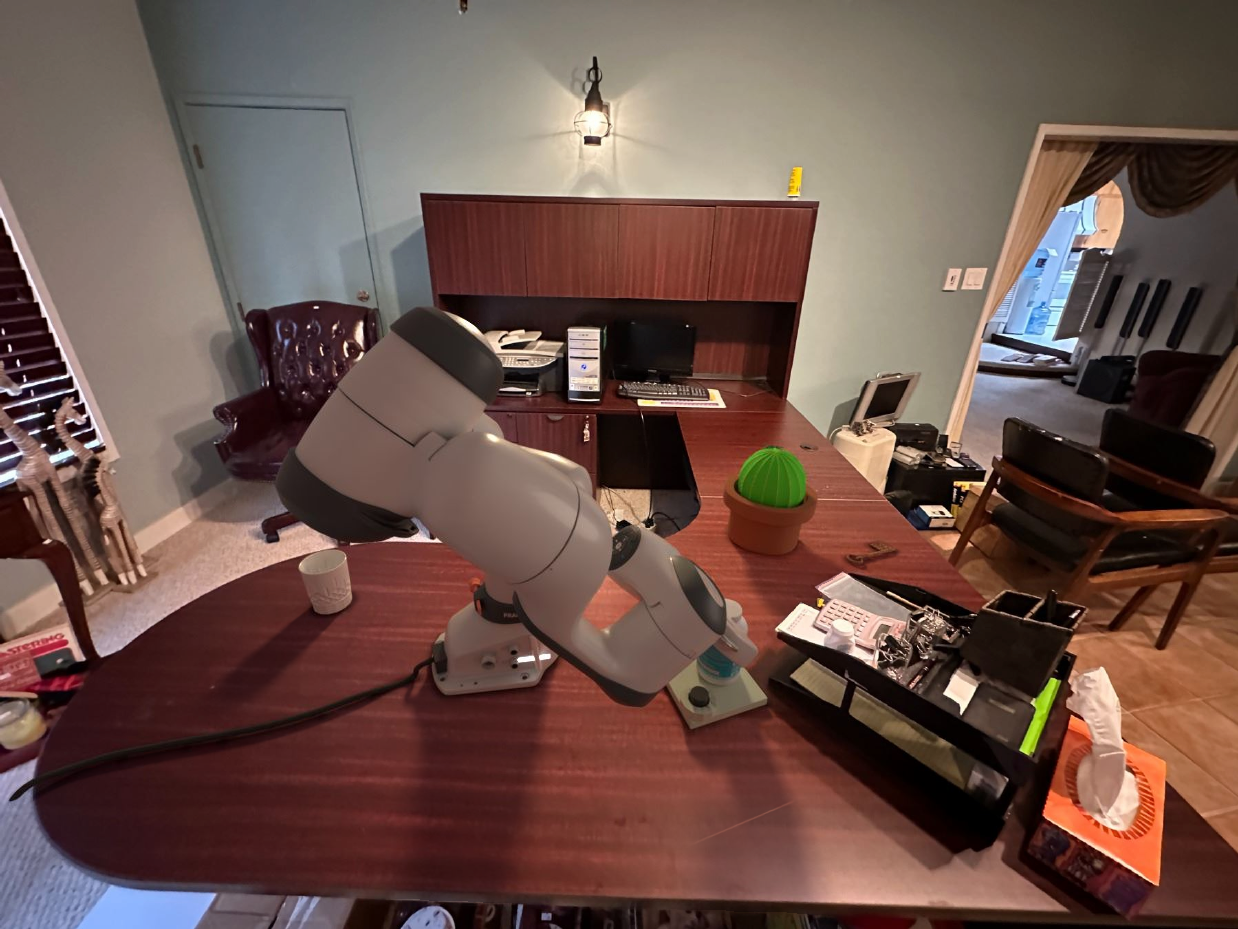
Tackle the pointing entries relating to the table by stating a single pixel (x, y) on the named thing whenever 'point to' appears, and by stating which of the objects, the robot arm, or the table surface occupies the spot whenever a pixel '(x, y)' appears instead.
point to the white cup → (327, 580)
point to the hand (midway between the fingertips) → (728, 625)
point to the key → (879, 546)
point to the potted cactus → (769, 502)
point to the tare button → (699, 696)
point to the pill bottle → (713, 661)
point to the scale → (714, 696)
